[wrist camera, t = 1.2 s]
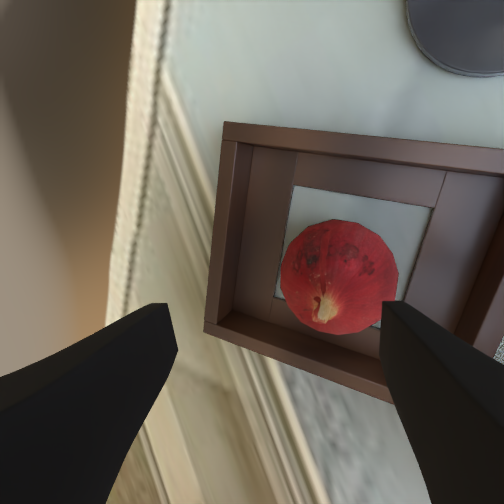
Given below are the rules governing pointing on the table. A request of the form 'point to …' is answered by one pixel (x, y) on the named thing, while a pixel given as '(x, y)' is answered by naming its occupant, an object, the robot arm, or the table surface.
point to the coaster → (460, 34)
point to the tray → (368, 185)
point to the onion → (338, 277)
